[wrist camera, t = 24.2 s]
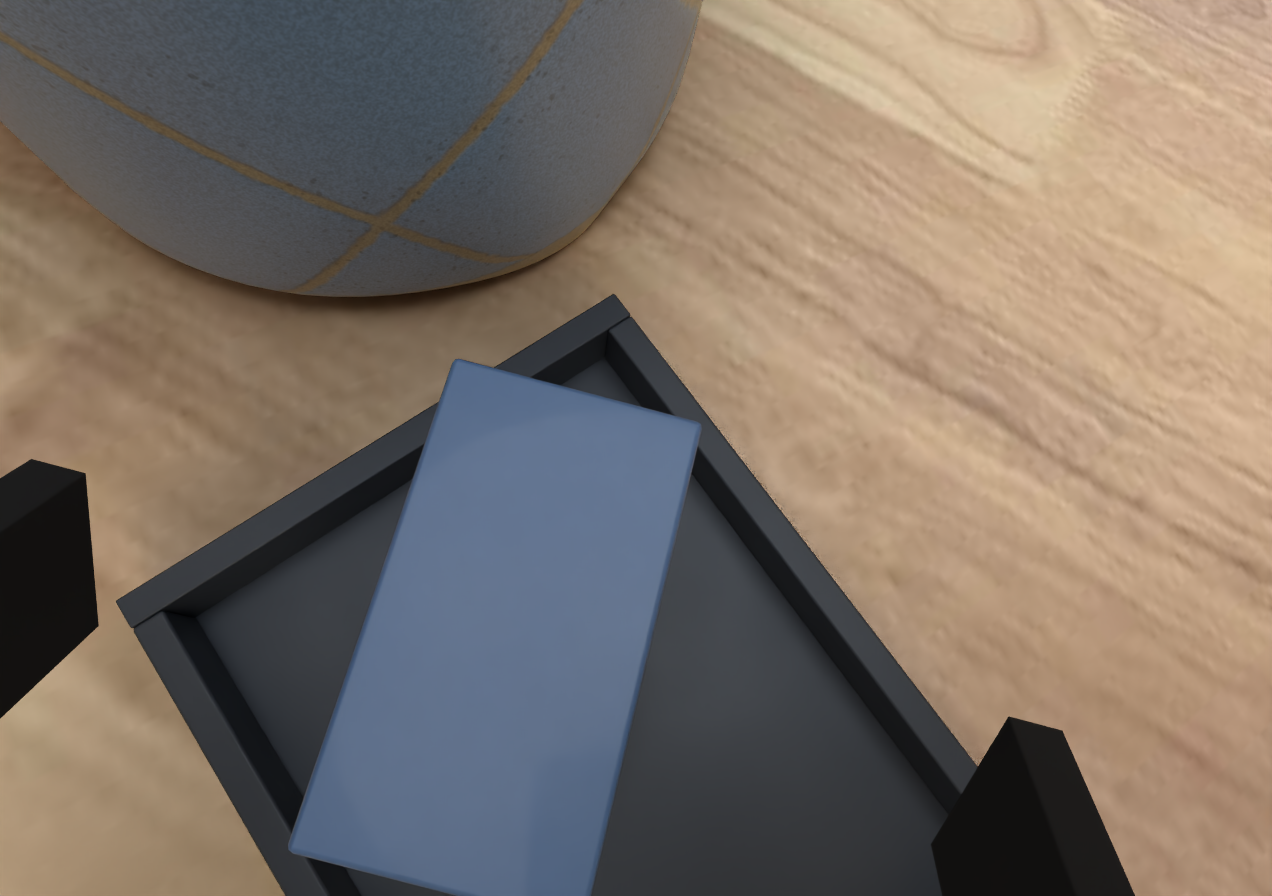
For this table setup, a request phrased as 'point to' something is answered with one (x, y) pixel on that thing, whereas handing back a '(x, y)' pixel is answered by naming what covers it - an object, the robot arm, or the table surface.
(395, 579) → the eraser
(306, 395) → the table surface
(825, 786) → the tray
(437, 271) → the planter
